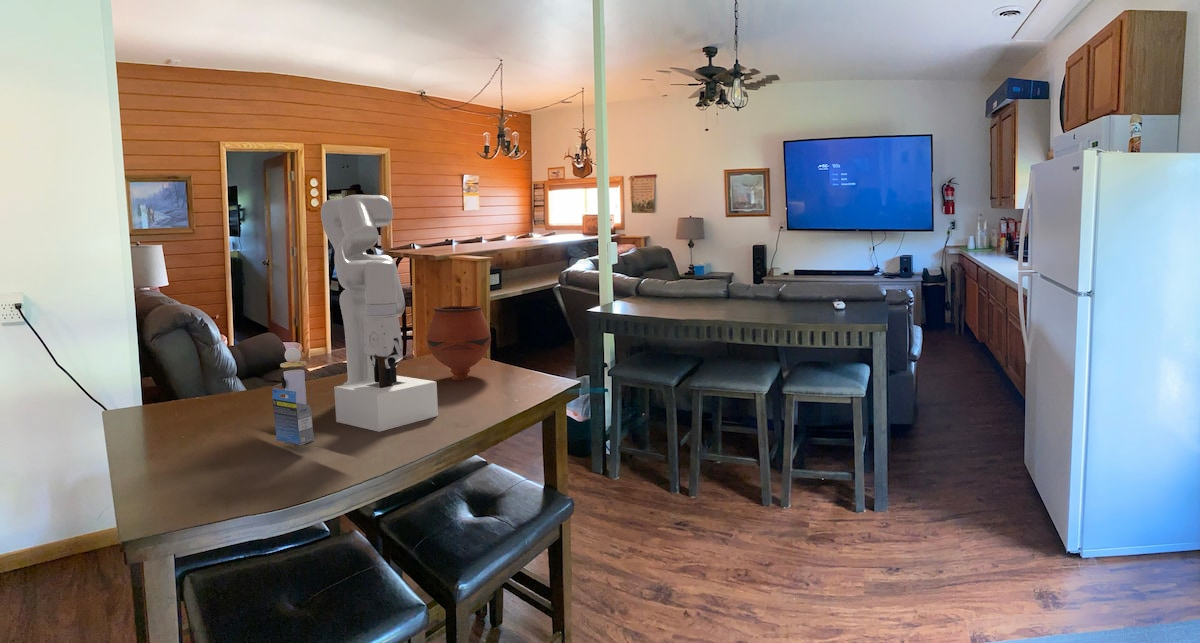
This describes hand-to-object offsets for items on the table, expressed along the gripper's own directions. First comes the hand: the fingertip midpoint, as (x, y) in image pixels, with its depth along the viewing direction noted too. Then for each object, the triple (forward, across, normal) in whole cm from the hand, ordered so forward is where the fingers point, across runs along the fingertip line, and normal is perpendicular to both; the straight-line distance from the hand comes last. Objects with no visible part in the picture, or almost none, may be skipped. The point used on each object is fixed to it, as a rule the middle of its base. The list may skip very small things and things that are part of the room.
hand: (385, 381), depth 175 cm
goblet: (+10, -14, +38) cm, 42 cm away
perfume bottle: (+10, -11, -18) cm, 23 cm away
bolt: (+7, 0, 0) cm, 7 cm away
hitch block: (+10, 0, 0) cm, 10 cm away
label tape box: (+10, -1, -24) cm, 26 cm away
